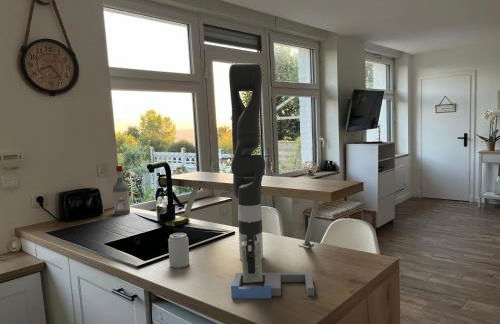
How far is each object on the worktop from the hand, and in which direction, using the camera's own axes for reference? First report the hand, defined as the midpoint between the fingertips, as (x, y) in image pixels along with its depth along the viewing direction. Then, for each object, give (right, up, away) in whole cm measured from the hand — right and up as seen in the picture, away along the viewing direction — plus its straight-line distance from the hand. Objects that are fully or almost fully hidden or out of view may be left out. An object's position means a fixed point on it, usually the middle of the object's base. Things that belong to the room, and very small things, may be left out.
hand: (252, 269), depth 119 cm
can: (-27, -5, +22) cm, 36 cm away
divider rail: (+6, -6, -1) cm, 9 cm away
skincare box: (0, -4, 0) cm, 4 cm away
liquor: (-81, +2, +114) cm, 140 cm away
